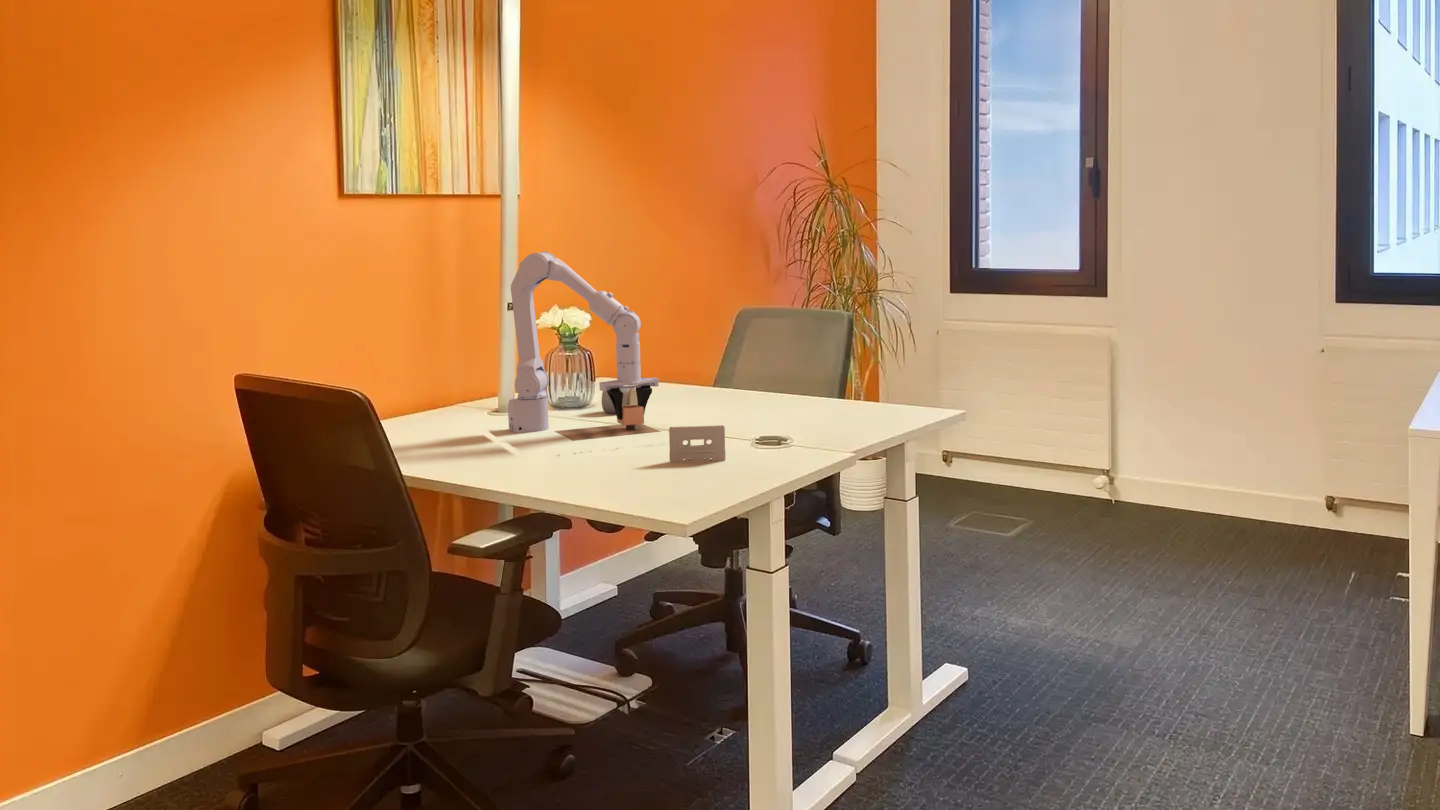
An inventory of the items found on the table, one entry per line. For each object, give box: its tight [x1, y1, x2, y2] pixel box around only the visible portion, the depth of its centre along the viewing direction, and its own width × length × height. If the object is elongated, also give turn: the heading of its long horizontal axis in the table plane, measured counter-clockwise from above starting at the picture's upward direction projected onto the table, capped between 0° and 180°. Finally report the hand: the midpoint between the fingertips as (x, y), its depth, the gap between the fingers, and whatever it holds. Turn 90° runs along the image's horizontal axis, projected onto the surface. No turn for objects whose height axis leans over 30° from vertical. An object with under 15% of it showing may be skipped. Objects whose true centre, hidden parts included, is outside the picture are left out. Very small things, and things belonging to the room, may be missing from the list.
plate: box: [554, 423, 662, 442], centre depth 296 cm, size 22×14×6 cm, turn 115°
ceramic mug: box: [601, 388, 638, 414], centre depth 329 cm, size 11×8×8 cm
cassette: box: [668, 424, 726, 463], centre depth 264 cm, size 12×2×8 cm, turn 93°
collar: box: [616, 404, 645, 425], centre depth 298 cm, size 5×5×4 cm
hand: (630, 417), depth 298 cm, fingers closed on collar, 5 cm apart
